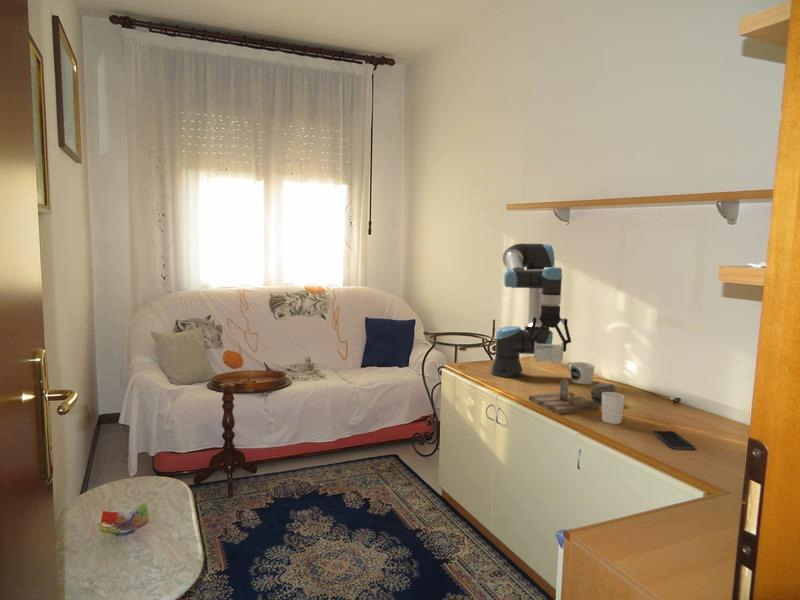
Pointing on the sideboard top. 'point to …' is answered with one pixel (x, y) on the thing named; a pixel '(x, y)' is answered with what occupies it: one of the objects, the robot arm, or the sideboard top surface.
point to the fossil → (601, 391)
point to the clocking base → (564, 401)
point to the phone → (673, 440)
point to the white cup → (612, 407)
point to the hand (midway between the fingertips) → (548, 358)
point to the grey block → (548, 353)
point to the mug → (581, 372)
